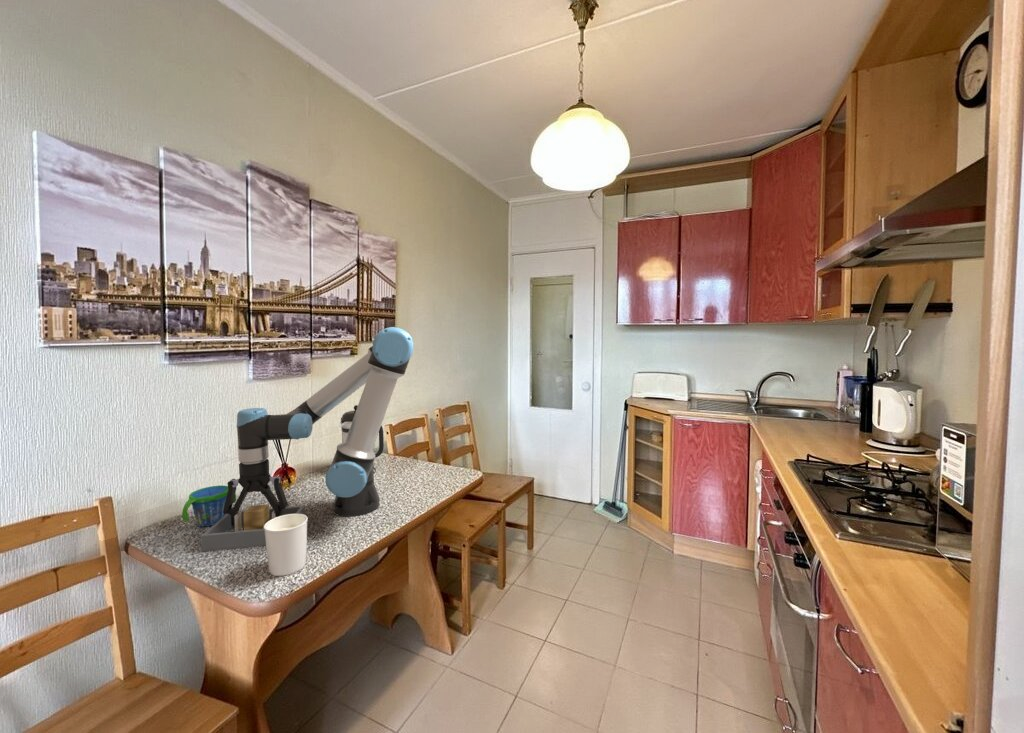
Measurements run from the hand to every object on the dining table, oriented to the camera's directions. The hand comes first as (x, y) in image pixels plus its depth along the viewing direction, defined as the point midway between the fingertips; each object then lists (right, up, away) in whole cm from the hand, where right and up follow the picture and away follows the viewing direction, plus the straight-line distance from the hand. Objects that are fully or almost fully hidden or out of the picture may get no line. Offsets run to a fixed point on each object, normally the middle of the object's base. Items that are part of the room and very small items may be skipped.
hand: (257, 533), depth 121 cm
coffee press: (+10, +4, +56) cm, 57 cm away
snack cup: (-20, 0, +8) cm, 22 cm away
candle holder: (+19, -2, -17) cm, 26 cm away
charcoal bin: (0, 0, 0) cm, 0 cm away
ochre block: (0, 0, 0) cm, 0 cm away
